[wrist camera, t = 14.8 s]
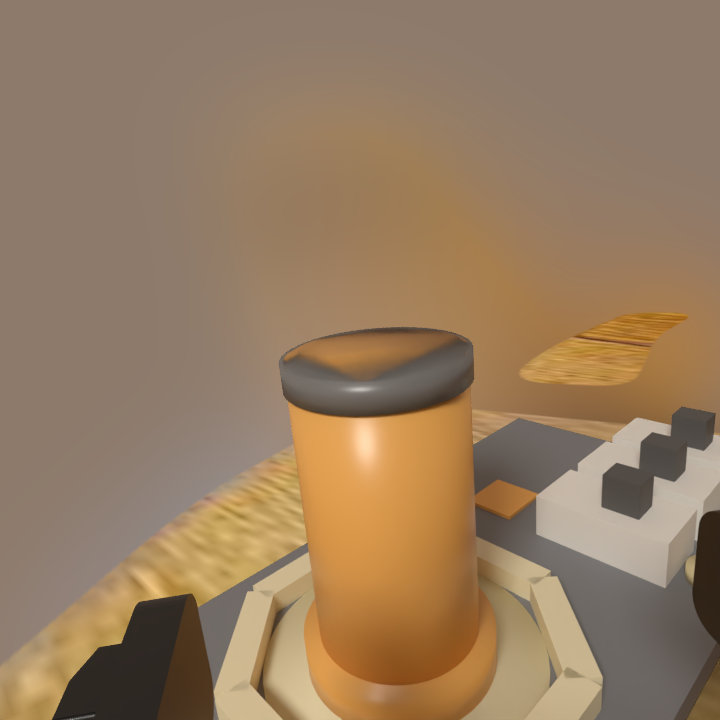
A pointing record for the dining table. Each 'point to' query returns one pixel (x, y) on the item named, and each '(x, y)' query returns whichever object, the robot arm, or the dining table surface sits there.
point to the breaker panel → (532, 582)
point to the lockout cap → (390, 523)
